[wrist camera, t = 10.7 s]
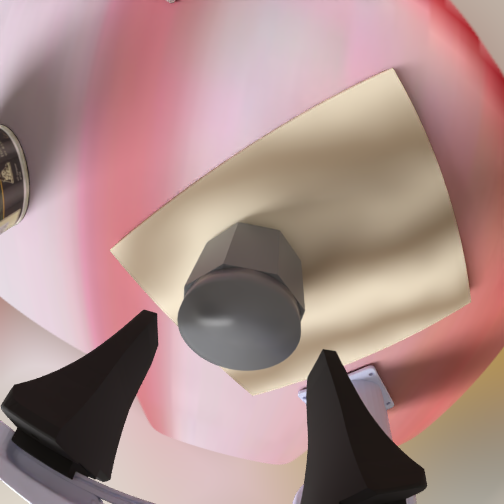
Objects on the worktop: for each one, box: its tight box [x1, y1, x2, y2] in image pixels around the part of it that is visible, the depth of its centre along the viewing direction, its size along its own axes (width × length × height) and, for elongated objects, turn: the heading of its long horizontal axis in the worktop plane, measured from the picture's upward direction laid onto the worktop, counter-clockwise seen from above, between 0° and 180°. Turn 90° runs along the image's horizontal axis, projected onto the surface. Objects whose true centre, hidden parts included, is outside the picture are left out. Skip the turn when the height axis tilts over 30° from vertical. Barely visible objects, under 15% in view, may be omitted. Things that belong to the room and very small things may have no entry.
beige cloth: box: [110, 68, 471, 396], centre depth 19 cm, size 18×21×2 cm
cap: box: [177, 222, 305, 371], centre depth 15 cm, size 6×6×6 cm
